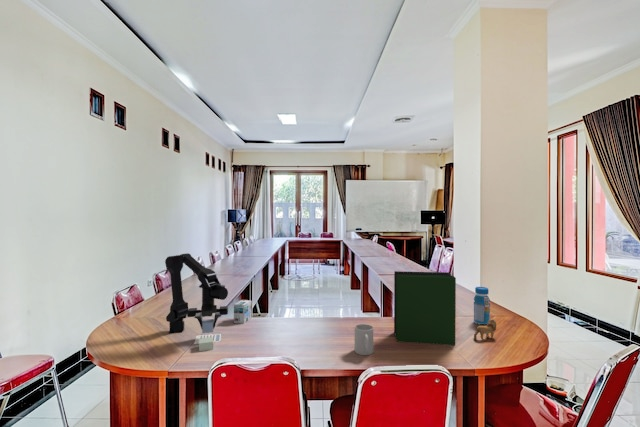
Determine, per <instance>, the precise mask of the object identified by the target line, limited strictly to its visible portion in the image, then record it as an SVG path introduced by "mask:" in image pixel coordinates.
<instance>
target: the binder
mask: <svg viewBox="0 0 640 427" xmlns="http://www.w3.org/2000/svg"><path fill="white" fill-rule="evenodd" d="M393 278H394V281H393V282H394V286H393V287H394V288H393V290H394V292H393V293H394V296H393V297H394V298H393V300H394V301H393V302H394V303H393V306H394V307H393V308H394V309H393V310H394V312H393V313H394V315H393V320H394V321H393V322H394V323H393V325H394V326H393V332H394V336H395V340H396V342H397V343H411V344H412V343H413V344H426V345H427V344H429V345H443V346H444V345H445V346H456V315H457V314H456V313H457V312H456V309H457V308H456V307H457V306H456V305H457V304H456V302H457V298H456V296H457V295H456V294H457V291H456V290H457V289H456V286H457V285H456V283H457V282H456V281H457V280H456V279H457V278H456V277H455V276H453V275H452V274H451V273H450V272H447V271H445V272H444V271H443V272H440V271H401V270H400V271H398V270H397V271H396V270H395V271H394V277H393Z"/></svg>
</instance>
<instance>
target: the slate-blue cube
mask: <svg viewBox="0 0 640 427" xmlns="http://www.w3.org/2000/svg"><path fill="white" fill-rule="evenodd" d="M202 320H203V322H202V329H201V333H202V334H209V333H214V329H215V328H214V329H213V325H214V318H206V319H202Z"/></svg>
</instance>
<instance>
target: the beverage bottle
mask: <svg viewBox="0 0 640 427" xmlns="http://www.w3.org/2000/svg"><path fill="white" fill-rule="evenodd" d="M474 290H475V295H474V298H473V300H474V302H473V322H474V323H475V324H477V323H478V324H477V325H480V324H488V320H490V319H491V318H490V315H491V314H490V312H491V304H490V302H491V300H490V298H489V287H485V286H476V287H475V289H474Z"/></svg>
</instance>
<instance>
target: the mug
mask: <svg viewBox="0 0 640 427" xmlns="http://www.w3.org/2000/svg"><path fill="white" fill-rule="evenodd" d="M353 347H354V348H353V349H354V353H356V354H358V355H360V356H370V355H372V354H374V326H372V325H371V324H365V323H361V324H360V323H359V324H356V325H354V346H353Z"/></svg>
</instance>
